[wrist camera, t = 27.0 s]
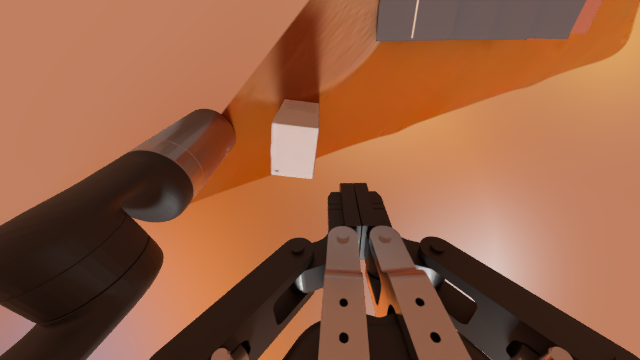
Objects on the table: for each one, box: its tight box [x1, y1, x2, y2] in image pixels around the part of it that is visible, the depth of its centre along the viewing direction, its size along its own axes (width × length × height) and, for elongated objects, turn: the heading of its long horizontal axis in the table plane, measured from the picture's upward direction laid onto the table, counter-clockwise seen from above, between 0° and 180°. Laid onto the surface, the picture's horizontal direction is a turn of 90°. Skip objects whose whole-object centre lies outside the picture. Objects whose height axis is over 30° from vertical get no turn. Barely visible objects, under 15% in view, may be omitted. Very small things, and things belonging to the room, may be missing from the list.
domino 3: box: [489, 0, 542, 40], centre depth 33 cm, size 2×5×10 cm
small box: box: [271, 99, 319, 179], centre depth 38 cm, size 8×6×13 cm
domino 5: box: [570, 0, 603, 34], centre depth 34 cm, size 2×5×10 cm
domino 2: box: [450, 0, 501, 40], centre depth 33 cm, size 2×5×10 cm
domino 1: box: [376, 0, 460, 41], centre depth 33 cm, size 2×5×10 cm
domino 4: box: [527, 0, 586, 39], centre depth 32 cm, size 2×5×10 cm
